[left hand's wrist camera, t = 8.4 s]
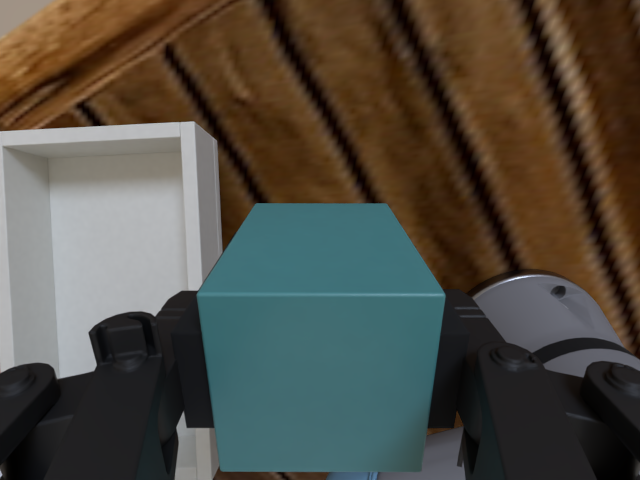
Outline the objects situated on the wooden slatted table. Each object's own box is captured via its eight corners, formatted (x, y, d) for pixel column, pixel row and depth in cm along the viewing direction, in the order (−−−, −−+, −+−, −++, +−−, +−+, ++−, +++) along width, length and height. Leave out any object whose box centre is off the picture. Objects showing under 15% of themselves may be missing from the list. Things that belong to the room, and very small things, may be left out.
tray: (44, 149, 29) (-14, 131, 24) (217, 140, 29) (194, 121, 24) (60, 445, 30) (6, 487, 25) (231, 440, 29) (211, 482, 24)
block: (387, 203, 14) (447, 294, 7) (379, 317, 16) (422, 473, 9) (255, 202, 14) (194, 293, 7) (262, 317, 16) (219, 473, 9)
